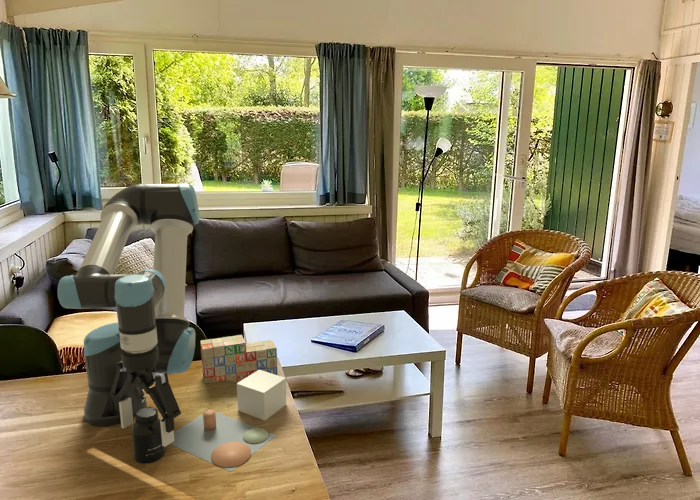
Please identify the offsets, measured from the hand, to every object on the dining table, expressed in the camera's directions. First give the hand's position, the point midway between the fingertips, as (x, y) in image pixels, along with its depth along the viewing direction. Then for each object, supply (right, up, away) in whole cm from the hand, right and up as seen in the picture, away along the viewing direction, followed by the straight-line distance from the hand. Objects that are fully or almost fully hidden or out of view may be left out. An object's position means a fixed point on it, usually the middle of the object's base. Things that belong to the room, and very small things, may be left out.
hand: (147, 434), depth 124 cm
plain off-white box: (+23, -1, +22) cm, 31 cm away
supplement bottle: (0, -6, +2) cm, 7 cm away
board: (+14, -5, +9) cm, 17 cm away
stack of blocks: (+13, +3, +40) cm, 42 cm away
